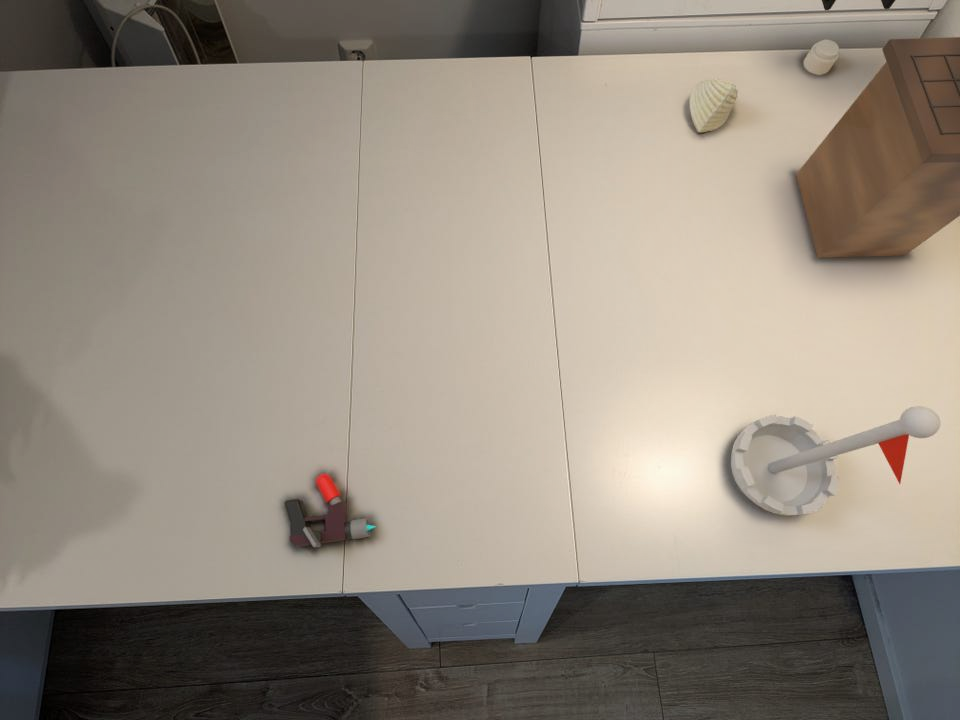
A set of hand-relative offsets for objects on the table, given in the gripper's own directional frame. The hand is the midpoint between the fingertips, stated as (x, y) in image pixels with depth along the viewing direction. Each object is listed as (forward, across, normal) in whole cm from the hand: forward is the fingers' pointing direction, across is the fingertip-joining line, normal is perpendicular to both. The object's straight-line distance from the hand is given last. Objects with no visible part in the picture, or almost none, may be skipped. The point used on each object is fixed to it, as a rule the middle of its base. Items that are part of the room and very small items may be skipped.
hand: (854, 3), depth 91 cm
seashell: (+12, +22, +10) cm, 27 cm away
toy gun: (+13, +84, +77) cm, 115 cm away
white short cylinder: (+12, 0, 0) cm, 12 cm away
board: (+12, +2, +32) cm, 35 cm away
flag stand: (+12, +22, +73) cm, 78 cm away
